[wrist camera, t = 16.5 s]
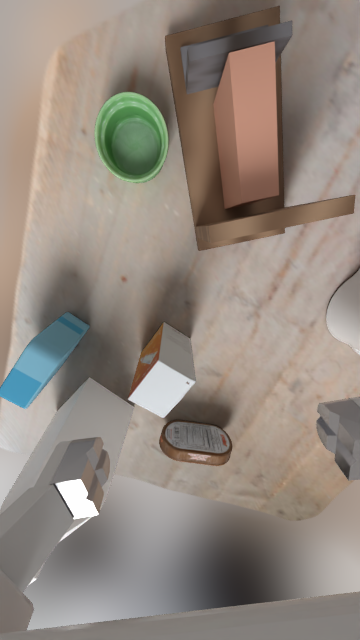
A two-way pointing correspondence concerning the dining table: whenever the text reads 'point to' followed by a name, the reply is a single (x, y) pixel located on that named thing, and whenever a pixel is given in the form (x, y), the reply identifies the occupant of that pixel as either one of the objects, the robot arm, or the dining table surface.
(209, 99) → the shelf stand
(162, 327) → the small box
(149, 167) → the ramekin
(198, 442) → the tin
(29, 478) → the milk
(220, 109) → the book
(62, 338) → the data package
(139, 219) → the dining table surface
